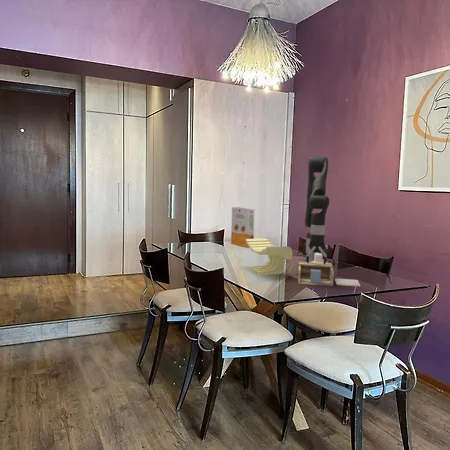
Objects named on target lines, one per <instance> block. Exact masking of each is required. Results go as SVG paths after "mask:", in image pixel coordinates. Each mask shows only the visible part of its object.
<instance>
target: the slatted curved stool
mask: <svg viewBox="0 0 450 450" xmlns="http://www.w3.org/2000/svg"><path fill="white" fill-rule="evenodd" d="M246 244H248V245H247V246H249V248H248V249H250V251H251V252H254V253H256V254H258V255H260V256H261V255H267V257H268V259H269V261H268V263H267V264H266V265H262V266H259V267H258V266H257V267H251V268H250V270H251V271H250V272H252V271H254V272H255V273H254V272H253V273H254V274H256V273H257V274H258V276H259V275H262V276H269V275H268V274H278V275H281V274H282V273H283V272H284V269H285V268H284V267H285V262H286V261H287V260H288V261H289V260H293V249H292V248H291V247H290V246H287V245H286V246H274V245H273V243H272V242H271V240H269V239H268V238H261V237H260V238H254V239H246ZM257 274H256V275H257Z"/></svg>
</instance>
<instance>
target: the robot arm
mask: <svg viewBox="0 0 450 450" xmlns="http://www.w3.org/2000/svg"><path fill="white" fill-rule="evenodd" d="M307 162H308V166H307V169H308V170H307V171H308V172H307V173H308V174H307V188H306V189H307V190H306V207H305V208H306V209H305V217H304V225H305V227H306V228H309V229H310V232H307V233H306V238H305V239H306V240H305V242H304V243H303V248H302V249H303V251H302V255H303V256H305V261H304V262H307V263H309V262H311V261H314V255H315V253H322V254H323V255H324V264H325V263H326V262H328V261H327V259H328V257H331V244H325V239H326V238H325V235H326V225H325V224H326V214H327V211H328V208H329V205H330V198H329V196H328V195H326V190H327V187H326V185H327V183H326V182H327V178H328V171H329V159H328V157H327V156H316V155H315V156H312V155H311V156H310V157H309V159H308V161H307ZM315 173H320V174H318V176H317V177H316V176H315ZM316 209H317V210H321V211H320V212H313V211H314V210H316ZM325 248H326V250H327V253H326V252H325V251H324V250H325Z"/></svg>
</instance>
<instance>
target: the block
mask: <svg viewBox="0 0 450 450" xmlns="http://www.w3.org/2000/svg"><path fill="white" fill-rule="evenodd" d="M320 277H321V271H320V270H312V269H311V277H310V282H311V283H320Z"/></svg>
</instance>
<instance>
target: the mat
mask: <svg viewBox="0 0 450 450" xmlns="http://www.w3.org/2000/svg"><path fill="white" fill-rule="evenodd" d="M334 281H335V284H336V286H347V287H361V284H360V282H359V280H358V279H346V278H334Z"/></svg>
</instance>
